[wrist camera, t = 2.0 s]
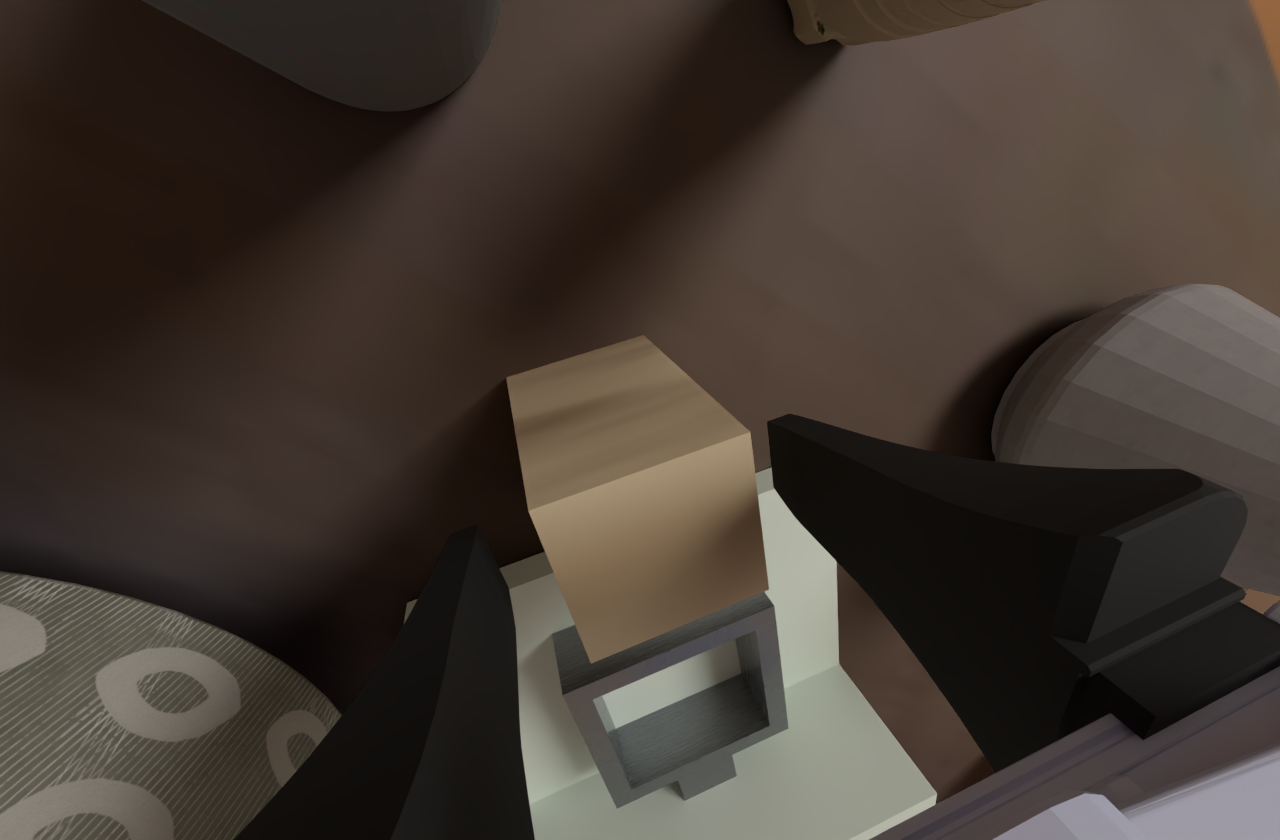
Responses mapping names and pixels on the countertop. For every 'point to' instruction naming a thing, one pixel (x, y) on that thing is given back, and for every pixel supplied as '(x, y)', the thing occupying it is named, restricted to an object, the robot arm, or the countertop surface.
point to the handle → (887, 17)
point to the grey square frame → (678, 703)
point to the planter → (139, 719)
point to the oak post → (637, 493)
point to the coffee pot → (1162, 404)
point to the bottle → (353, 43)
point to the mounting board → (766, 772)
